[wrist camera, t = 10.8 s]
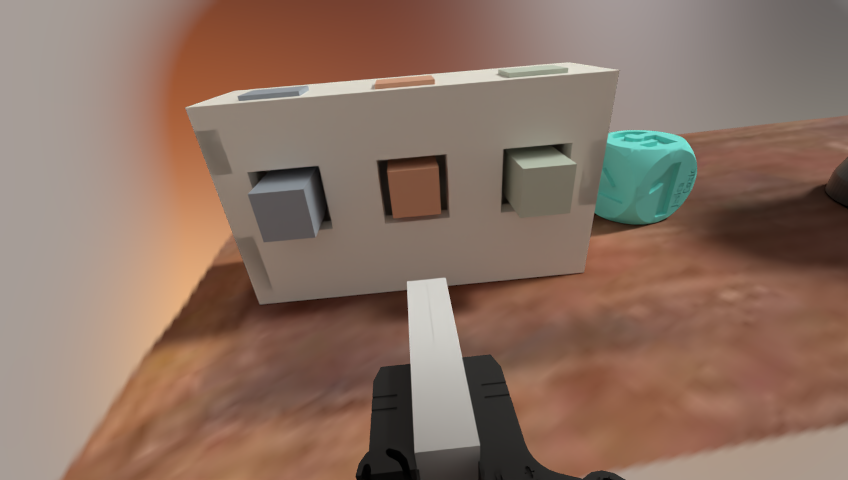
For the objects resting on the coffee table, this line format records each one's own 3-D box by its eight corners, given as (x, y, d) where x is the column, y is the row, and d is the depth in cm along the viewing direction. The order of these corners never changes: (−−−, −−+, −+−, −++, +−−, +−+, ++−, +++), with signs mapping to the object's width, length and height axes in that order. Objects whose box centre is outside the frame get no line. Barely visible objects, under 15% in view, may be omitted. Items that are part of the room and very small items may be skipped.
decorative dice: (626, 231, 37) (644, 155, 33) (573, 203, 44) (583, 136, 40) (685, 215, 39) (708, 141, 35) (626, 191, 46) (640, 126, 42)
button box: (549, 229, 38) (569, 58, 30) (583, 272, 32) (620, 65, 24) (284, 255, 38) (232, 87, 30) (259, 304, 31) (183, 102, 23)
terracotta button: (434, 189, 31) (432, 148, 30) (441, 214, 27) (438, 167, 25) (393, 193, 31) (388, 152, 30) (393, 218, 27) (387, 172, 25)
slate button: (327, 207, 30) (317, 165, 28) (315, 237, 25) (303, 189, 24) (283, 212, 30) (270, 169, 28) (263, 242, 25) (247, 194, 23)
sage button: (544, 187, 30) (549, 144, 28) (570, 213, 26) (577, 163, 24) (501, 191, 30) (503, 148, 28) (519, 218, 26) (523, 168, 24)
